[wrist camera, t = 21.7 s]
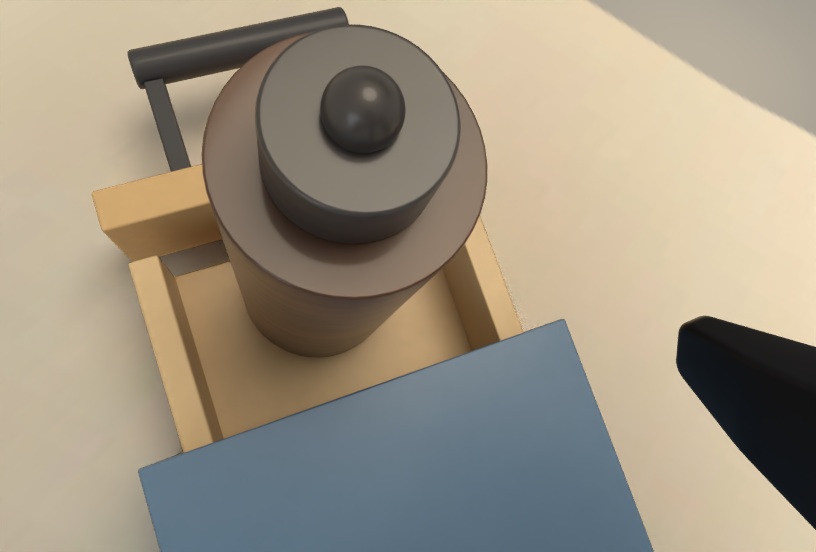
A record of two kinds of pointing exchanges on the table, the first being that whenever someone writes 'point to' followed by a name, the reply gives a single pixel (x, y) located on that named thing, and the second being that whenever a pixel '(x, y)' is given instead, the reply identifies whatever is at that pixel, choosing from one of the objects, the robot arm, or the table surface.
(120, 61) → the table surface
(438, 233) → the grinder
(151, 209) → the drawer
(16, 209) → the table surface
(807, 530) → the table surface
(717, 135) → the table surface
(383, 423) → the cabinet
